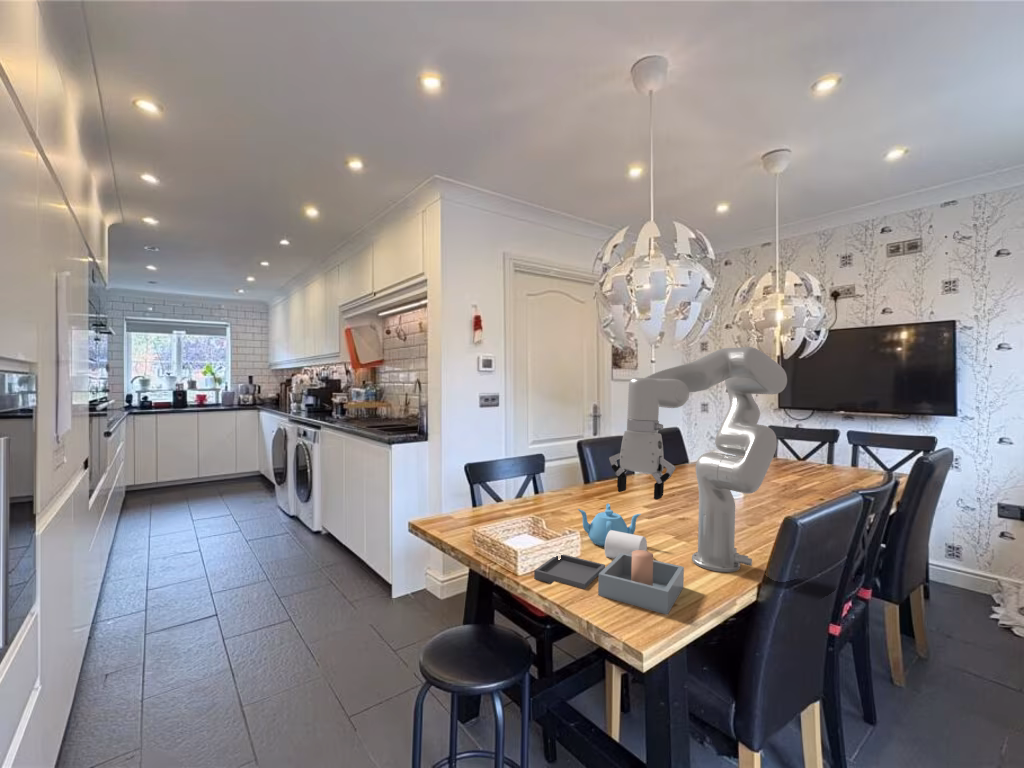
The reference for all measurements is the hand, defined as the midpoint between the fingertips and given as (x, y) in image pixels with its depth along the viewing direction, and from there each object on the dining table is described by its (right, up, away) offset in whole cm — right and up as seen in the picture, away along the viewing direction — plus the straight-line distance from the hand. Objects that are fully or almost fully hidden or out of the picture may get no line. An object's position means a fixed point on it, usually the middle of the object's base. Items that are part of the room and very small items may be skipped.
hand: (639, 494), depth 114 cm
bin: (-1, -23, -4) cm, 24 cm away
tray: (-17, -23, +6) cm, 29 cm away
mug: (+2, -23, +18) cm, 30 cm away
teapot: (-1, -23, +33) cm, 40 cm away
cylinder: (-1, -22, -4) cm, 23 cm away
